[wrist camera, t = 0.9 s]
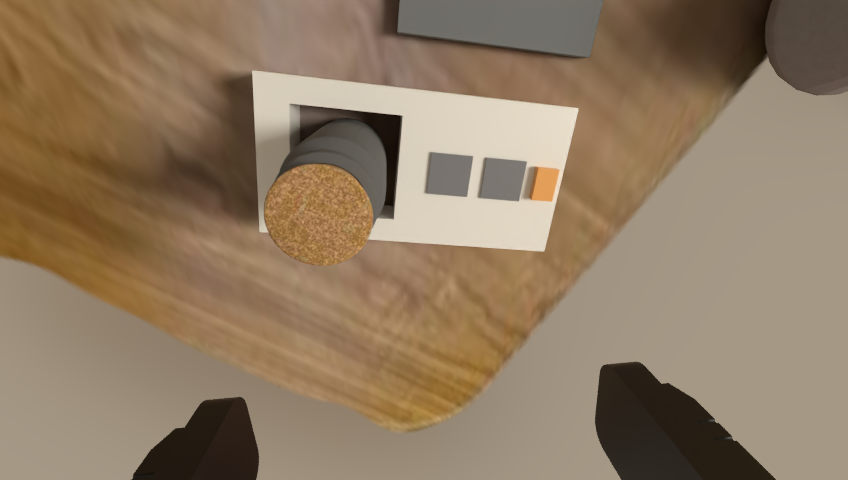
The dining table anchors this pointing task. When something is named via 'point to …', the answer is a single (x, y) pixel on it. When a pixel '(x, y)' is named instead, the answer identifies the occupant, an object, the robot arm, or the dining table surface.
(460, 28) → the mat
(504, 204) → the power strip
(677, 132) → the dining table surface
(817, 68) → the coffee pot
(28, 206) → the dining table surface
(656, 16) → the dining table surface
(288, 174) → the bottle
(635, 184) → the dining table surface
